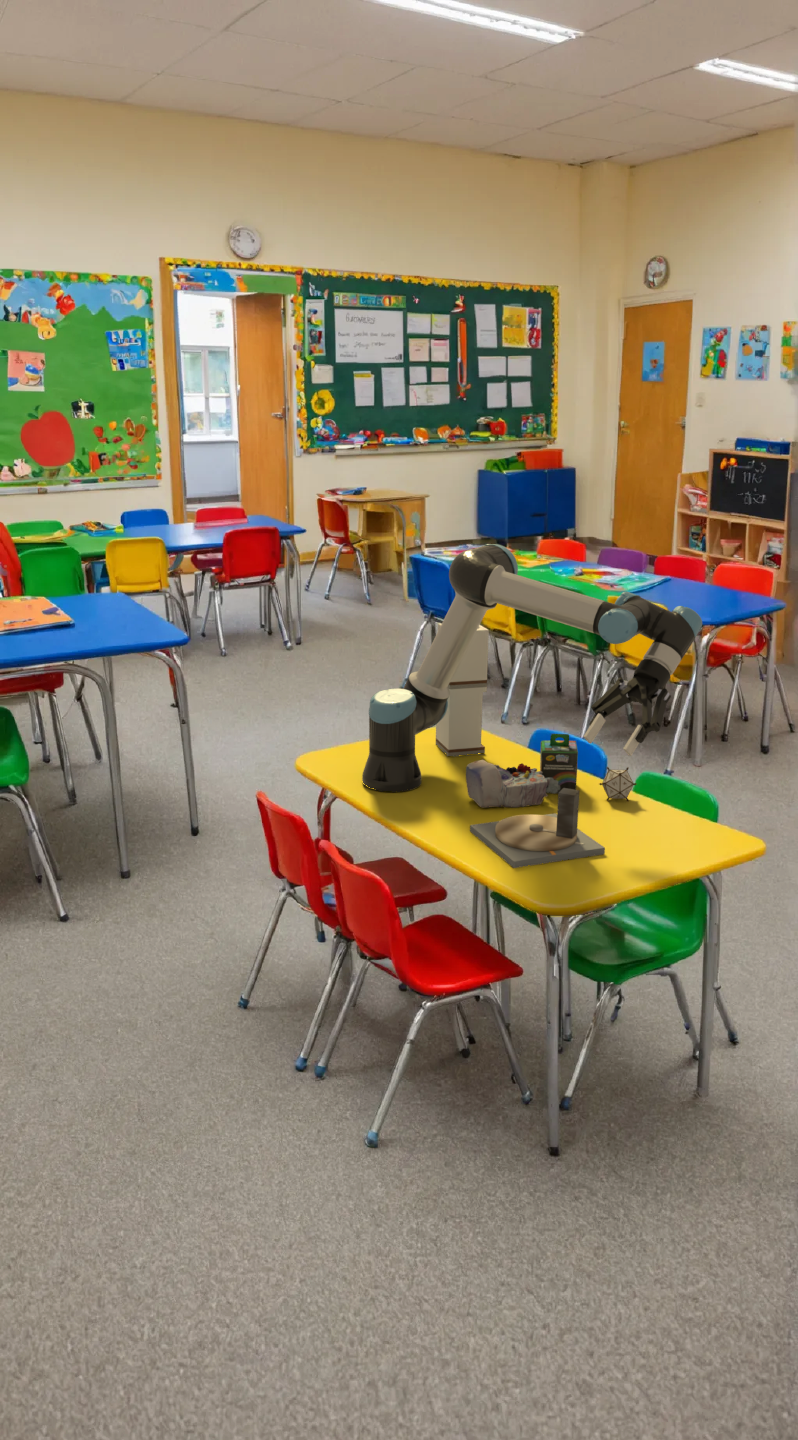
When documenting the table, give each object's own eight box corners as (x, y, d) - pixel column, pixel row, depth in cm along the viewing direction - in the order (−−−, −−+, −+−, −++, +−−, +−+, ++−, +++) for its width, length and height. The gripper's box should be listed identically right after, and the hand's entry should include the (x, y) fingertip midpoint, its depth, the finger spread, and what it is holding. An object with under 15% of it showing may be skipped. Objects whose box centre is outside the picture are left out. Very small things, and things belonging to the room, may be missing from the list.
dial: (483, 842, 244) (484, 792, 241) (511, 815, 260) (513, 768, 257) (562, 857, 237) (565, 806, 234) (587, 828, 252) (589, 780, 249)
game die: (620, 816, 275) (626, 794, 267) (590, 798, 279) (595, 776, 271) (638, 791, 280) (645, 769, 272) (609, 774, 283) (615, 751, 275)
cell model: (460, 756, 273) (532, 749, 281) (458, 798, 276) (529, 789, 284) (485, 772, 262) (559, 764, 269) (482, 815, 264) (556, 806, 272)
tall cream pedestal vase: (484, 753, 310) (488, 629, 300) (448, 756, 307) (451, 631, 298) (470, 742, 321) (474, 621, 311) (435, 744, 318) (437, 623, 308)
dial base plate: (469, 831, 255) (470, 824, 254) (555, 819, 263) (555, 812, 262) (513, 868, 235) (513, 860, 235) (604, 854, 243) (604, 846, 242)
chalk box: (574, 783, 287) (577, 728, 283) (576, 795, 279) (579, 738, 275) (538, 781, 288) (541, 726, 284) (539, 793, 280) (542, 737, 275)
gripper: (705, 687, 246) (655, 768, 241) (623, 667, 263) (575, 742, 258) (692, 667, 241) (641, 749, 236) (609, 648, 259) (560, 724, 254)
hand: (606, 746), depth 247 cm, fingers open, 11 cm apart
